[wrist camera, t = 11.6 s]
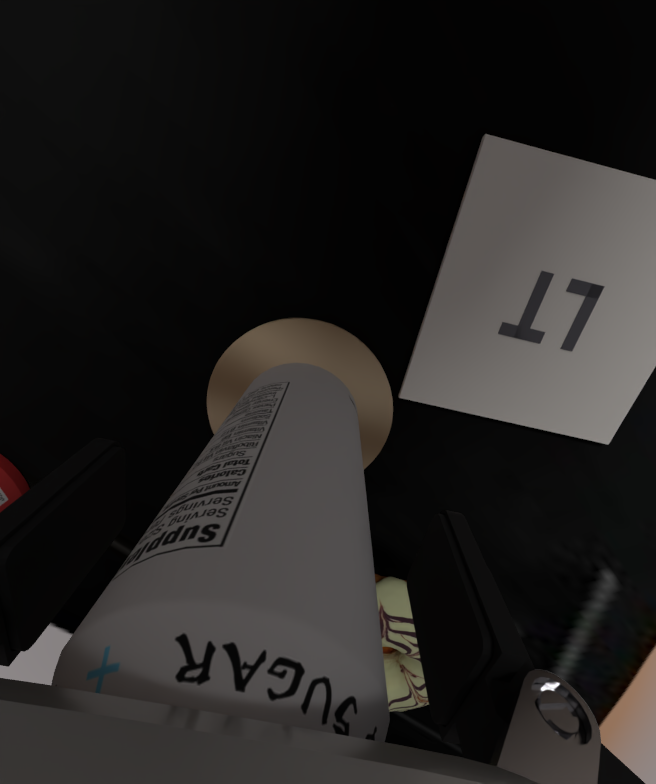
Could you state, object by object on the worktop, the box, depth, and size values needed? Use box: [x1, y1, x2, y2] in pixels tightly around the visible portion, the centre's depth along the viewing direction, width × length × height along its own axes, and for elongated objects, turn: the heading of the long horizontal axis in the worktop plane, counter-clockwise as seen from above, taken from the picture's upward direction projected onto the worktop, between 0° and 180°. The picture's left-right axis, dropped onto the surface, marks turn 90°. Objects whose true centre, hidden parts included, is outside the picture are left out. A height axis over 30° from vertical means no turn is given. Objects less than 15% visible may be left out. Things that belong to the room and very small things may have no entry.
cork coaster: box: [207, 318, 393, 470], centre depth 19 cm, size 10×10×1 cm
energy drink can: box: [51, 363, 390, 742], centre depth 12 cm, size 6×6×15 cm
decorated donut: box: [375, 574, 429, 712], centre depth 24 cm, size 10×11×4 cm
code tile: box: [398, 134, 656, 445], centre depth 17 cm, size 12×12×1 cm
